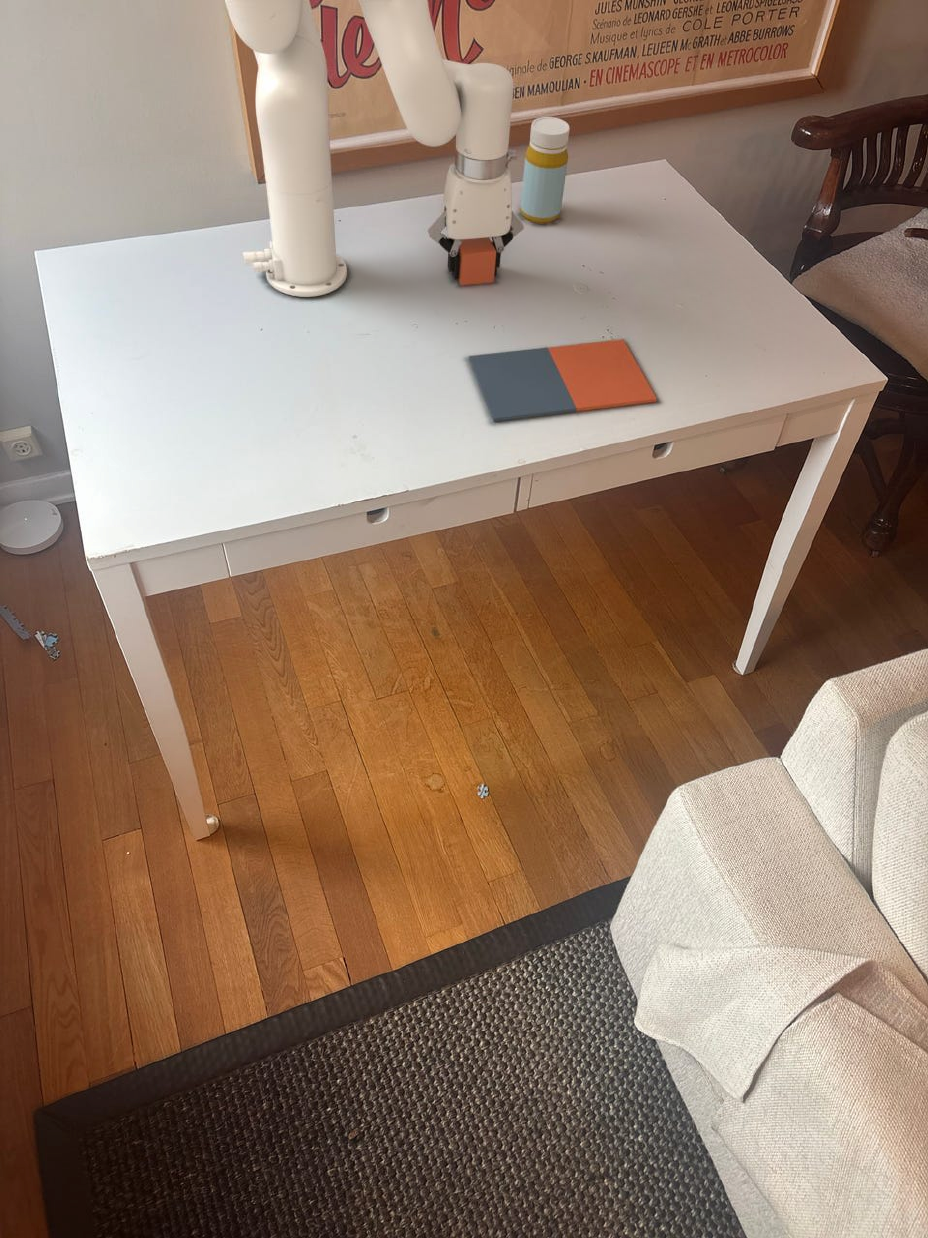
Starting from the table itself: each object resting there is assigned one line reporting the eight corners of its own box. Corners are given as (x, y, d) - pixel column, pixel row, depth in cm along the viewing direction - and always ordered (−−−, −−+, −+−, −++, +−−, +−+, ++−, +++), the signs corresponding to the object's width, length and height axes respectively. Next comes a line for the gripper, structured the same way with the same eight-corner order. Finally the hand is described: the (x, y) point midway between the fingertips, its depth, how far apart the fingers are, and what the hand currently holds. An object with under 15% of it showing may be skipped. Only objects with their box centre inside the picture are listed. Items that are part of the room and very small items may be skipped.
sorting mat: (493, 421, 132) (493, 418, 132) (468, 359, 140) (468, 355, 140) (656, 401, 137) (657, 398, 136) (622, 342, 145) (623, 338, 144)
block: (460, 285, 152) (462, 254, 147) (452, 266, 155) (454, 235, 151) (493, 282, 153) (496, 251, 149) (485, 263, 156) (487, 232, 152)
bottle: (515, 220, 164) (525, 131, 153) (524, 200, 169) (533, 112, 157) (555, 227, 164) (568, 139, 152) (563, 207, 168) (575, 119, 156)
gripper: (530, 144, 143) (518, 255, 157) (417, 151, 140) (415, 264, 154) (544, 169, 139) (531, 281, 153) (428, 177, 136) (425, 291, 150)
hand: (473, 271), depth 153 cm, fingers closed on block, 5 cm apart
